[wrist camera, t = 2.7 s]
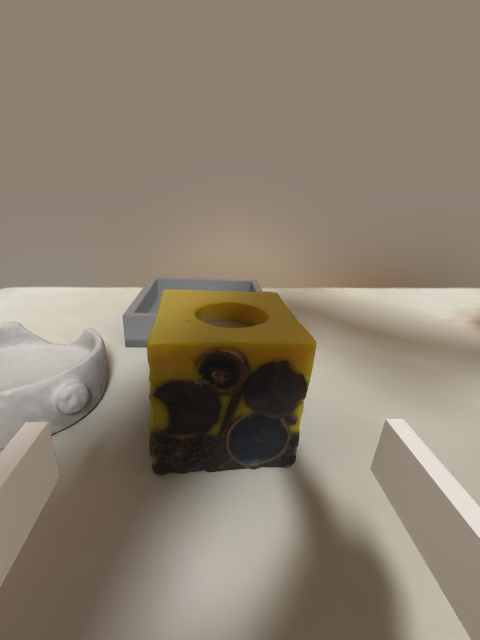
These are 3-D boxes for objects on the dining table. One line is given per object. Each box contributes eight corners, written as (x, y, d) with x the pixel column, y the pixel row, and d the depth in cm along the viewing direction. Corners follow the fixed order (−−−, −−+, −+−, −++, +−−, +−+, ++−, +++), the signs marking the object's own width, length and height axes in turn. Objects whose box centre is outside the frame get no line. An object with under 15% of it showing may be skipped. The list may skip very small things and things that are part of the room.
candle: (164, 387, 29) (159, 287, 25) (266, 385, 30) (277, 289, 26) (148, 479, 19) (136, 342, 16) (297, 469, 21) (320, 341, 17)
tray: (254, 301, 54) (256, 280, 52) (273, 348, 37) (277, 319, 36) (153, 299, 52) (151, 276, 51) (125, 346, 36) (122, 315, 34)
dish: (-29, 366, 30) (-43, 320, 29) (117, 354, 34) (112, 314, 32) (-159, 492, 18) (-201, 425, 16) (97, 452, 21) (88, 394, 19)
